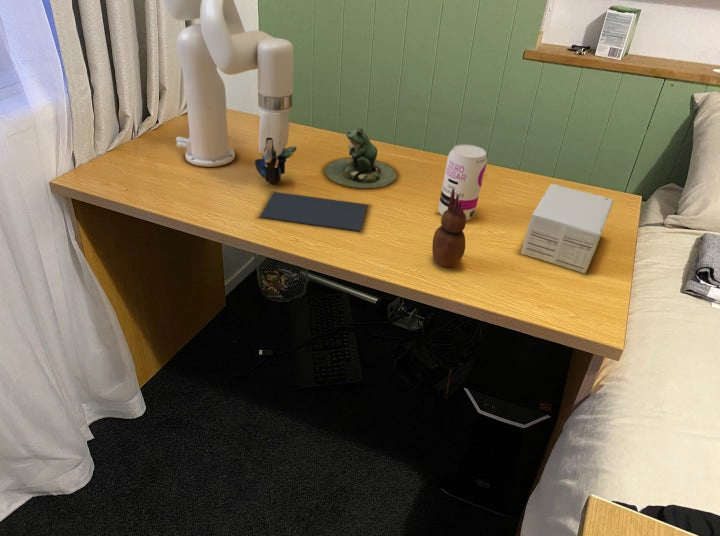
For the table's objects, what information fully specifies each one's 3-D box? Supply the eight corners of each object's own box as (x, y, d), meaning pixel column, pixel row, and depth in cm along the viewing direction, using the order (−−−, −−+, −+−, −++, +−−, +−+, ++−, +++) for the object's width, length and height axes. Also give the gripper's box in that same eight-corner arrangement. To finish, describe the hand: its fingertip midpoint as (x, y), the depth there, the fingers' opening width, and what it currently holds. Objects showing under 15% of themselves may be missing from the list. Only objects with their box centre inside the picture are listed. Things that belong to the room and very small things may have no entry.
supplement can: (475, 209, 132) (490, 147, 122) (471, 225, 125) (486, 161, 116) (440, 202, 133) (453, 140, 124) (434, 218, 127) (447, 154, 118)
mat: (259, 217, 124) (259, 216, 123) (274, 193, 133) (274, 191, 133) (360, 231, 121) (360, 230, 121) (367, 206, 130) (367, 204, 130)
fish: (293, 190, 135) (294, 150, 129) (252, 184, 136) (251, 144, 130) (297, 182, 138) (299, 143, 132) (257, 177, 139) (257, 137, 133)
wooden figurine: (426, 252, 115) (439, 185, 106) (454, 252, 116) (469, 185, 107) (434, 271, 110) (448, 202, 101) (463, 271, 111) (480, 202, 102)
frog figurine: (331, 155, 152) (334, 111, 145) (399, 163, 150) (405, 120, 143) (318, 183, 138) (320, 137, 131) (392, 193, 136) (398, 146, 129)
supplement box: (538, 220, 129) (550, 182, 123) (599, 237, 124) (615, 198, 118) (519, 253, 117) (531, 213, 111) (585, 274, 112) (602, 233, 106)
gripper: (269, 87, 132) (269, 161, 143) (247, 111, 119) (250, 190, 130) (300, 90, 131) (298, 165, 142) (282, 115, 118) (281, 195, 129)
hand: (275, 176), depth 136 cm, fingers closed on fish, 4 cm apart
